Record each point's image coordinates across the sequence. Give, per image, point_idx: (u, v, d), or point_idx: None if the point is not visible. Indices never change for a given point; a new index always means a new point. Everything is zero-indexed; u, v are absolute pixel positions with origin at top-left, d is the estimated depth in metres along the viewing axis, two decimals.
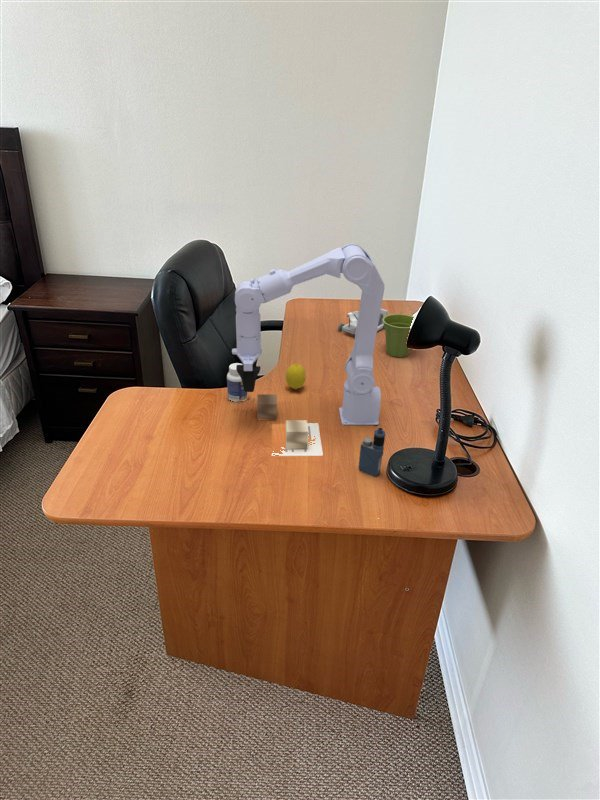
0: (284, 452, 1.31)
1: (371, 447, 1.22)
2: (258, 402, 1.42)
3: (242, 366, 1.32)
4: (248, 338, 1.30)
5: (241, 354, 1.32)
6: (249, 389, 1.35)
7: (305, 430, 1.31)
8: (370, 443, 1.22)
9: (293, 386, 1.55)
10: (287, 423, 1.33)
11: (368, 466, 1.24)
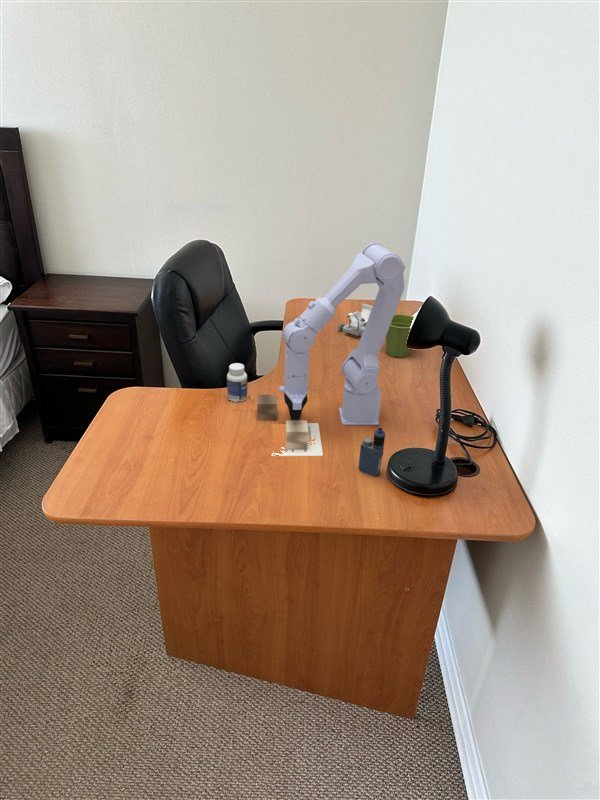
0: (284, 452, 1.31)
1: (371, 447, 1.22)
2: (258, 402, 1.42)
3: None
4: (297, 377, 1.31)
5: (289, 392, 1.34)
6: (295, 418, 1.40)
7: (305, 430, 1.31)
8: (370, 443, 1.22)
9: None
10: (287, 423, 1.33)
11: (368, 466, 1.24)
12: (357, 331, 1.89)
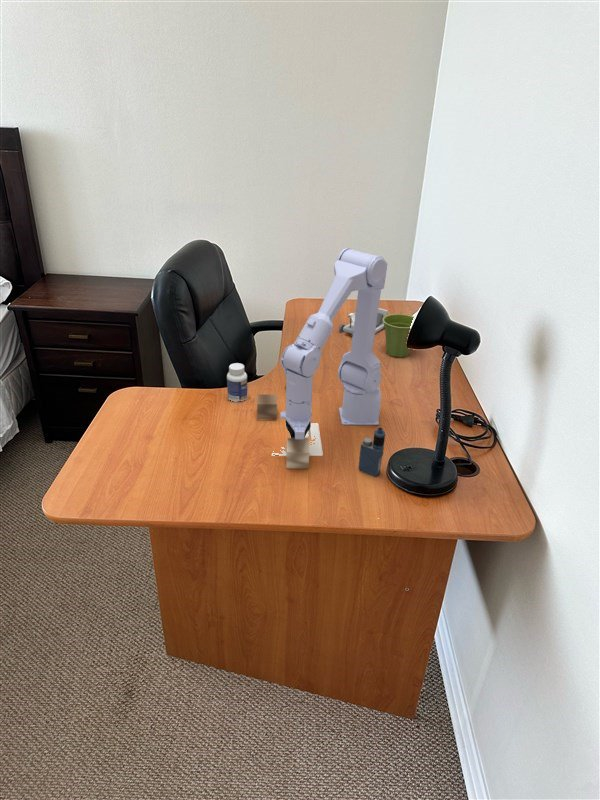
0: (284, 452, 1.31)
1: (371, 447, 1.22)
2: (258, 402, 1.42)
3: None
4: (299, 403, 1.21)
5: (291, 419, 1.23)
6: None
7: (306, 450, 1.24)
8: (370, 443, 1.22)
9: None
10: (288, 441, 1.26)
11: (368, 466, 1.24)
12: None
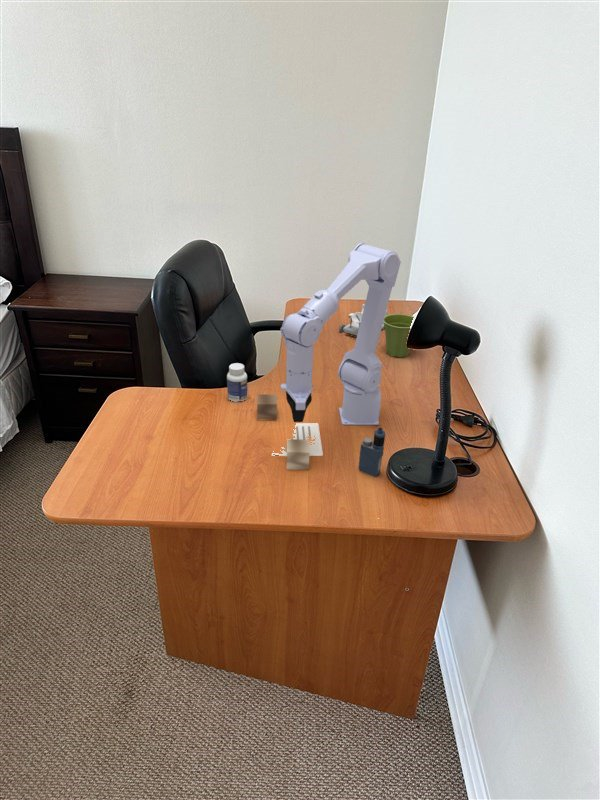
0: (284, 452, 1.31)
1: (371, 447, 1.22)
2: (258, 402, 1.42)
3: (292, 396, 1.24)
4: (300, 374, 1.20)
5: (291, 391, 1.22)
6: (298, 419, 1.28)
7: (307, 450, 1.24)
8: (370, 443, 1.22)
9: None
10: (288, 442, 1.27)
11: (368, 466, 1.24)
12: None
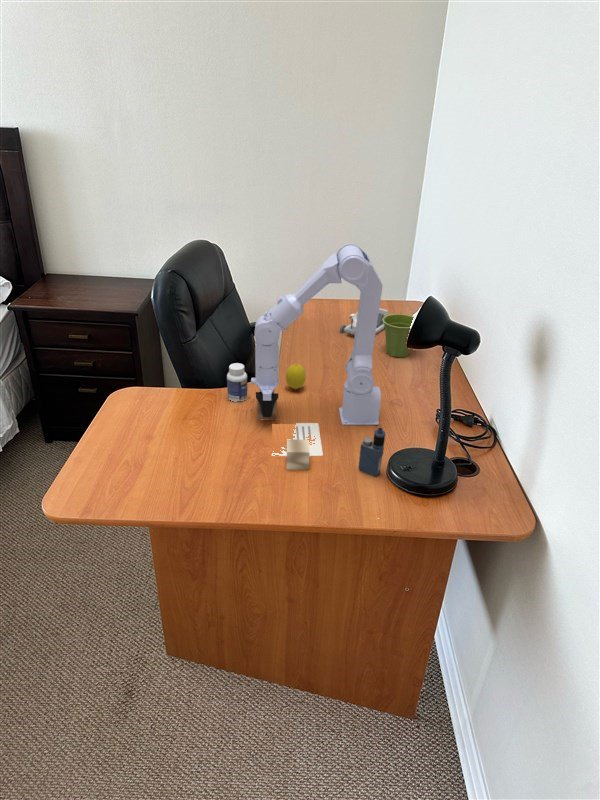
0: (284, 452, 1.31)
1: (371, 447, 1.22)
2: (258, 402, 1.42)
3: (261, 393, 1.38)
4: (267, 369, 1.36)
5: (260, 384, 1.38)
6: (267, 414, 1.42)
7: (307, 450, 1.24)
8: (370, 443, 1.22)
9: (293, 386, 1.55)
10: (288, 442, 1.27)
11: (368, 466, 1.24)
12: None
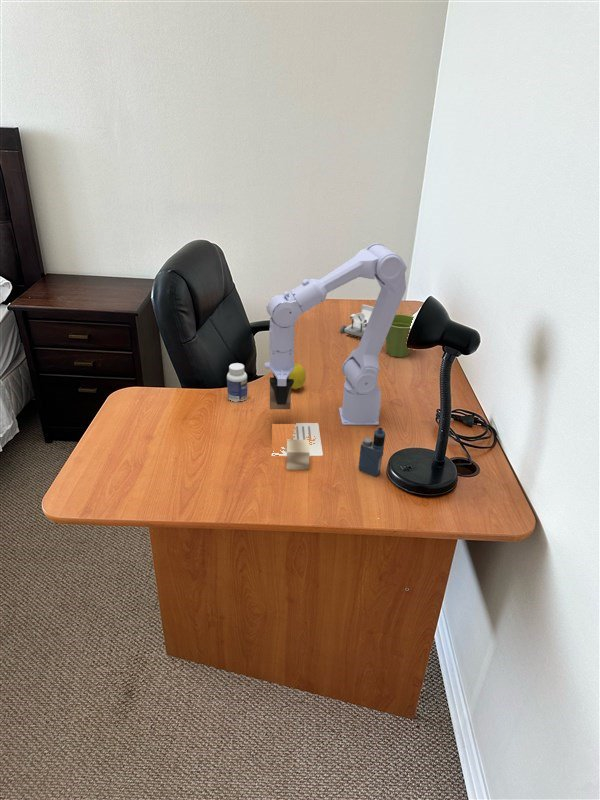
0: (284, 452, 1.31)
1: (371, 447, 1.22)
2: (271, 389, 1.34)
3: (275, 379, 1.30)
4: (282, 352, 1.28)
5: (274, 368, 1.30)
6: (281, 402, 1.34)
7: (307, 450, 1.24)
8: (370, 443, 1.22)
9: (293, 386, 1.55)
10: (288, 442, 1.27)
11: (368, 466, 1.24)
12: (360, 332, 1.88)
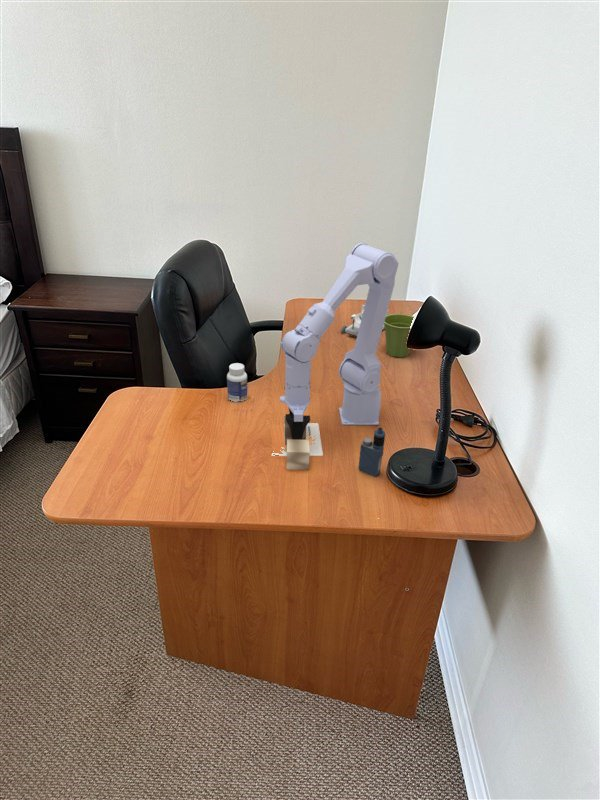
0: (284, 452, 1.31)
1: (371, 447, 1.22)
2: (286, 425, 1.32)
3: (291, 416, 1.28)
4: (298, 387, 1.26)
5: (290, 403, 1.28)
6: (297, 438, 1.31)
7: (307, 450, 1.24)
8: (370, 443, 1.22)
9: None
10: (288, 442, 1.27)
11: (368, 466, 1.24)
12: None
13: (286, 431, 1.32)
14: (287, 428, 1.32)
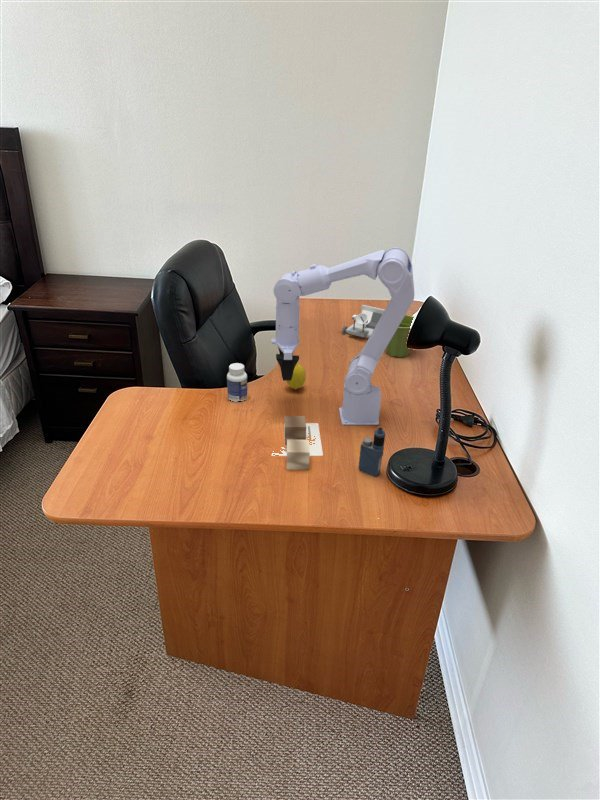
0: (284, 452, 1.31)
1: (371, 447, 1.22)
2: (286, 425, 1.32)
3: (281, 355, 1.36)
4: (288, 328, 1.35)
5: (280, 344, 1.37)
6: (287, 378, 1.40)
7: (307, 450, 1.24)
8: (370, 443, 1.22)
9: (293, 386, 1.55)
10: (288, 442, 1.26)
11: (368, 466, 1.24)
12: (362, 333, 1.87)
13: (286, 431, 1.32)
14: (287, 428, 1.32)
